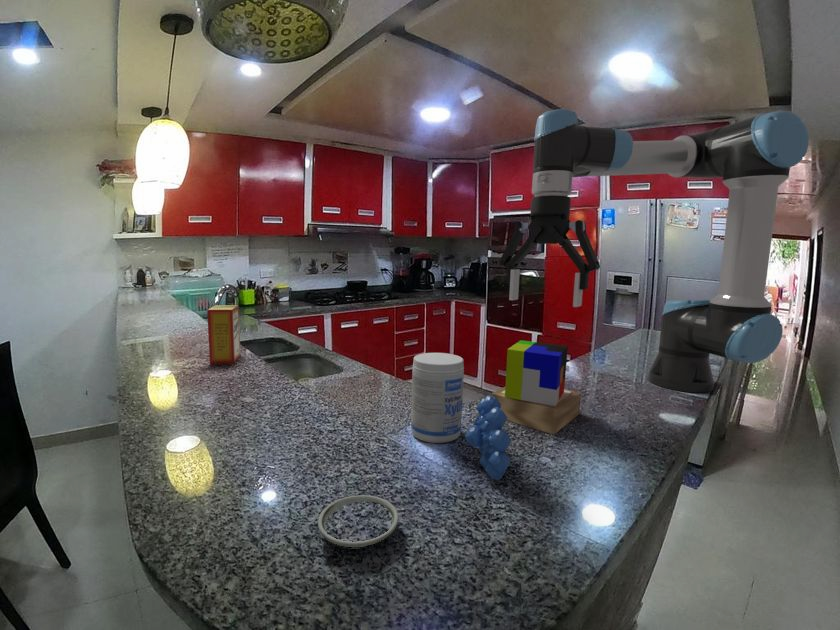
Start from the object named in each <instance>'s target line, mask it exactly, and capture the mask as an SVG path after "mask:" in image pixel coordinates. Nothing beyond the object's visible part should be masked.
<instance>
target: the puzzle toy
mask: <svg viewBox="0 0 840 630" xmlns="http://www.w3.org/2000/svg"><path fill="white" fill-rule="evenodd" d="M568 349H569V346H568V345H561V344H552V343H544V342H537V341H529V340H521V339H520V340H518V342H516V343H515V344H513V345H512V346H510V347H508V348H507V350H506V351H507V354H506V368H505V369H506V370H505V385H504V387H505V397H507V398H512V399H518V400H523V401H528V402H534V403H539V404H544V405H549V406H556V404H557V403H558V401H559V399H560V398H561V396H562V394H563V393H564V389H565V383H566V375H567V374H566V372H567V371H566V370H567V361H568V359H567V358H568Z"/></svg>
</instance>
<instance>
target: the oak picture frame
mask: <svg viewBox="0 0 840 630" xmlns="http://www.w3.org/2000/svg"><path fill="white" fill-rule="evenodd" d="M490 395H492V396H494V397H495V398H496V399H497V400H498V401H499V403H500V404H501V408H500V409H501V410H502V411H503V412H504V413H505V415H506V416H507V420H506V422H507V421H508V422H511V423H515V424H517V425H520V426H521V425H522V426H525V427H528V428H531V429H535V430H537V431H541V432H544V433H547V434H551V435H555V434H557V433H558V432H559V431H560V430H561V429H562V428H564V427H565V426H567V425H568V424H569V423H570V422H571V421H573V420H574V419H575V418H576V417H577V416H579V415H580V410H581V409H580V407H581V400H582V398H581V396H582V392H580V391H576V390H571V389H566V388H564V393H563V394H562V396H561V398H560V399H559V401H558V403H557V404H556V406H549V405H544V404H539V403H534V402H528V401H523V400H518V399H512V398H507V397H505V386H504V387H501V388H499V389H497V390H495V391H493V392H491V393H490Z"/></svg>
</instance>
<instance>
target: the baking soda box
mask: <svg viewBox="0 0 840 630" xmlns="http://www.w3.org/2000/svg"><path fill="white" fill-rule="evenodd" d="M239 309H240V307H239V304H235V305H234V304H233V305H232V304H231V305H230V304H229V305H228V304H227V305H226V304H225V305H224V304H220V305H219V304H218V305H217V304H216V305H213V306H212V307H210V308H208V309H207V310H206V311H207V312H206V313H207V329H208V330H207V333H208V335H207V336H208V349H209V365H210V364H211V365H213V364H234V363H236V361H237V360H238V359H239V358H240V356H241V339H240V338H241V334H240V310H239Z"/></svg>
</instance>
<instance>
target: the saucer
mask: <svg viewBox="0 0 840 630" xmlns="http://www.w3.org/2000/svg"><path fill="white" fill-rule="evenodd" d="M364 501H366V502H367V501H369V502H374V503H378V504H381V505H383V506H385V507H386V508H387V509H388V510H389V512H390V513H391V515H392V525H391V527H390V529H389V530H388V531H387V532H385V533H384V534H382V535H380V536H378V537H376V538H373V539H370V540H365V541H357V542H352V541H343V540H339V539H336V538H334V537H332V536H330V535H329V534H327V532H326V529H325V528H326V527H325V524H326V521H327V519H328V517H329V516H330V515H331V514H333V512H335V511H336V510H337V509H340V508H341V507H342V506H345V505H349V504H352V503H355V502H364ZM398 512H399V511H398V510H397V508H396V507H395V505H393V504H392V503H391V502H389V501H388V500H387V499H385V498H382V497H378V496H374V495H368V494H367V495H365V494H361V495H360V494H359V495H350V496H345V497H343V498H339V499H337V500H335V501H333V502H332V503H329V504H328V505H327V506H326V507H324V509H323V510H321V513H320V514H319V516H318V520H317V528H318V531H319V533H320V535H321V536H322V537H323V538H324V539H325V540H327V541H328V542H330V543H331V544H334V545H336V544H337V545H336V546H338V545H340V546H339V547H341V546H346V547H361V546H367V545H371V544H374V543H377V542H379V541H380V542H382V541H383V540H385V539H387V538H388V537H389V536H390V535H392V533H393V532H394V531H395V530H396V528H397V527H398V525H399V513H398ZM381 540H382V541H381ZM380 542H379V543H380ZM377 544H378V543H377Z"/></svg>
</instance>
